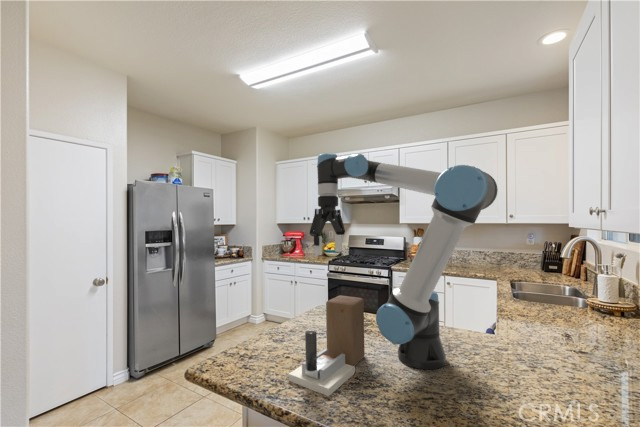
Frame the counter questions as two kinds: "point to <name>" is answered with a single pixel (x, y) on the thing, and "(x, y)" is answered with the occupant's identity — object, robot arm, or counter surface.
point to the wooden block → (345, 328)
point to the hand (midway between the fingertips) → (328, 253)
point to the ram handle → (314, 356)
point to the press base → (324, 375)
